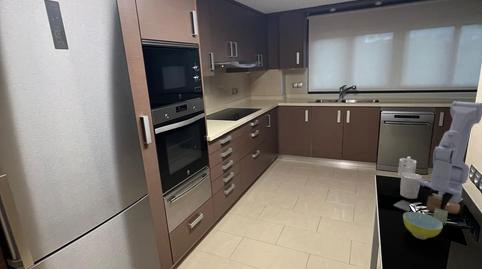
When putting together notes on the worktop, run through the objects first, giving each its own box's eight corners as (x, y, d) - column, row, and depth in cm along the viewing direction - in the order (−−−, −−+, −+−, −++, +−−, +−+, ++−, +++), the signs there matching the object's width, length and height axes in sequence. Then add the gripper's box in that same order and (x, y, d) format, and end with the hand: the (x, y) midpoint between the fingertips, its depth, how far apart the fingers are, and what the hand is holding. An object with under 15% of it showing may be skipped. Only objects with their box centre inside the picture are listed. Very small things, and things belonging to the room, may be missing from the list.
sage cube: (433, 216, 104) (435, 207, 103) (446, 220, 101) (448, 211, 100) (432, 221, 101) (434, 211, 100) (445, 224, 98) (447, 215, 97)
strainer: (413, 185, 132) (417, 157, 129) (411, 190, 127) (416, 161, 123) (397, 182, 136) (401, 155, 133) (395, 186, 131) (399, 158, 128)
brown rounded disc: (443, 205, 113) (445, 199, 112) (461, 211, 108) (462, 204, 107) (438, 209, 110) (439, 202, 109) (455, 215, 105) (457, 208, 104)
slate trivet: (402, 200, 117) (402, 199, 117) (422, 208, 110) (422, 207, 110) (393, 205, 112) (393, 204, 112) (413, 213, 106) (413, 212, 106)
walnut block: (430, 206, 110) (432, 193, 109) (443, 210, 107) (445, 197, 105) (426, 209, 108) (428, 196, 107) (438, 213, 104) (441, 200, 103)
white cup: (400, 197, 120) (403, 177, 117) (397, 190, 127) (400, 171, 125) (420, 200, 117) (423, 180, 115) (416, 193, 124) (419, 173, 122)
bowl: (434, 230, 95) (437, 215, 93) (443, 249, 84) (447, 232, 83) (399, 223, 99) (401, 208, 98) (403, 240, 89) (405, 224, 88)
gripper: (416, 172, 108) (411, 202, 111) (459, 184, 96) (452, 217, 99) (423, 168, 111) (419, 197, 115) (466, 180, 100) (459, 212, 103)
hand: (435, 206), depth 107 cm, fingers closed on walnut block, 4 cm apart
